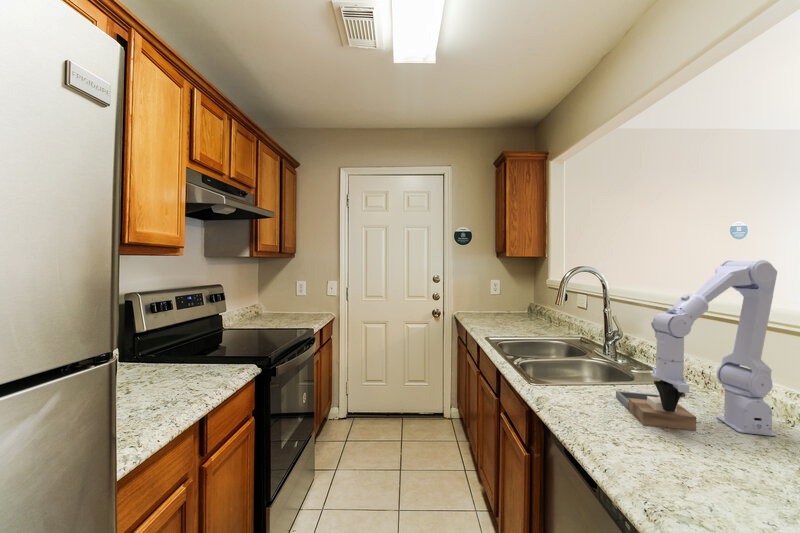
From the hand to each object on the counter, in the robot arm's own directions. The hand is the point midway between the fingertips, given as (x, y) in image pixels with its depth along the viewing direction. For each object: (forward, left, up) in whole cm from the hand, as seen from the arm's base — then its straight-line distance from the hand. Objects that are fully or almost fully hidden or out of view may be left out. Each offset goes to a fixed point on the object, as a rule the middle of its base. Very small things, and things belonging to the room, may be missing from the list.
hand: (668, 410), depth 93 cm
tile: (+4, 0, -1) cm, 4 cm away
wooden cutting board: (+4, 0, -4) cm, 6 cm away
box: (+15, 0, -4) cm, 16 cm away
